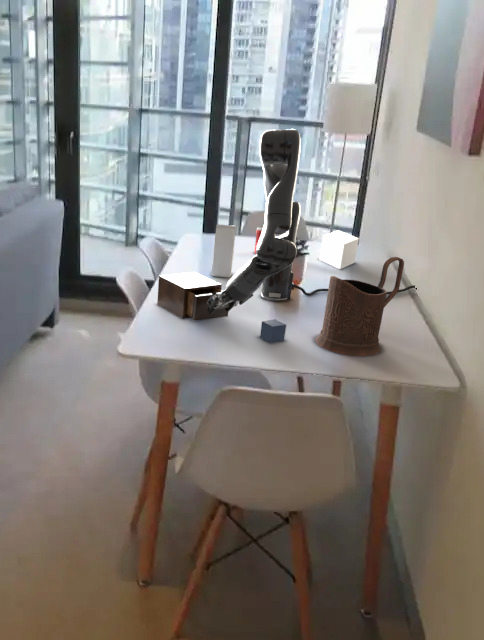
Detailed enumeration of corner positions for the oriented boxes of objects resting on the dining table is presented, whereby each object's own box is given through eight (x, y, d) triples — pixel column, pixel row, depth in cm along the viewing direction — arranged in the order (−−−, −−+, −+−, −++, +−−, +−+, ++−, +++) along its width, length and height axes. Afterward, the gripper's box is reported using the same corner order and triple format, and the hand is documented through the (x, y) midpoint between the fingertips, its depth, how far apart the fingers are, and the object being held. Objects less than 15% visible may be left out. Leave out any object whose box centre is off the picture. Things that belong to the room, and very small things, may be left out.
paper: (321, 267, 291) (325, 242, 287) (317, 251, 317) (320, 228, 313) (358, 271, 289) (362, 245, 285) (351, 254, 315) (355, 231, 311)
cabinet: (219, 313, 230) (221, 284, 226) (182, 318, 224) (184, 288, 220) (192, 300, 243) (194, 271, 239) (157, 304, 236) (158, 275, 232)
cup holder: (302, 336, 213) (314, 253, 204) (366, 328, 222) (381, 249, 213) (342, 358, 198) (357, 270, 188) (409, 349, 207) (427, 265, 197)
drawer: (237, 321, 221) (239, 296, 218) (202, 326, 215) (205, 300, 212) (202, 303, 236) (204, 280, 233) (169, 307, 231) (171, 283, 228)
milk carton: (230, 278, 271) (235, 227, 263) (211, 276, 272) (215, 226, 264) (231, 273, 277) (236, 224, 270) (213, 271, 278) (217, 222, 271)
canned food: (274, 256, 306) (277, 230, 302) (255, 255, 306) (258, 229, 302) (271, 251, 313) (274, 226, 309) (253, 251, 313) (255, 225, 309)
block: (273, 335, 213) (275, 319, 211) (284, 340, 209) (286, 324, 207) (259, 337, 211) (261, 321, 209) (270, 343, 207) (272, 326, 205)
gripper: (260, 268, 208) (232, 296, 223) (220, 273, 202) (193, 301, 216) (270, 291, 206) (241, 318, 220) (229, 296, 200) (202, 323, 214)
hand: (217, 310), depth 218 cm, fingers closed on drawer, 5 cm apart
